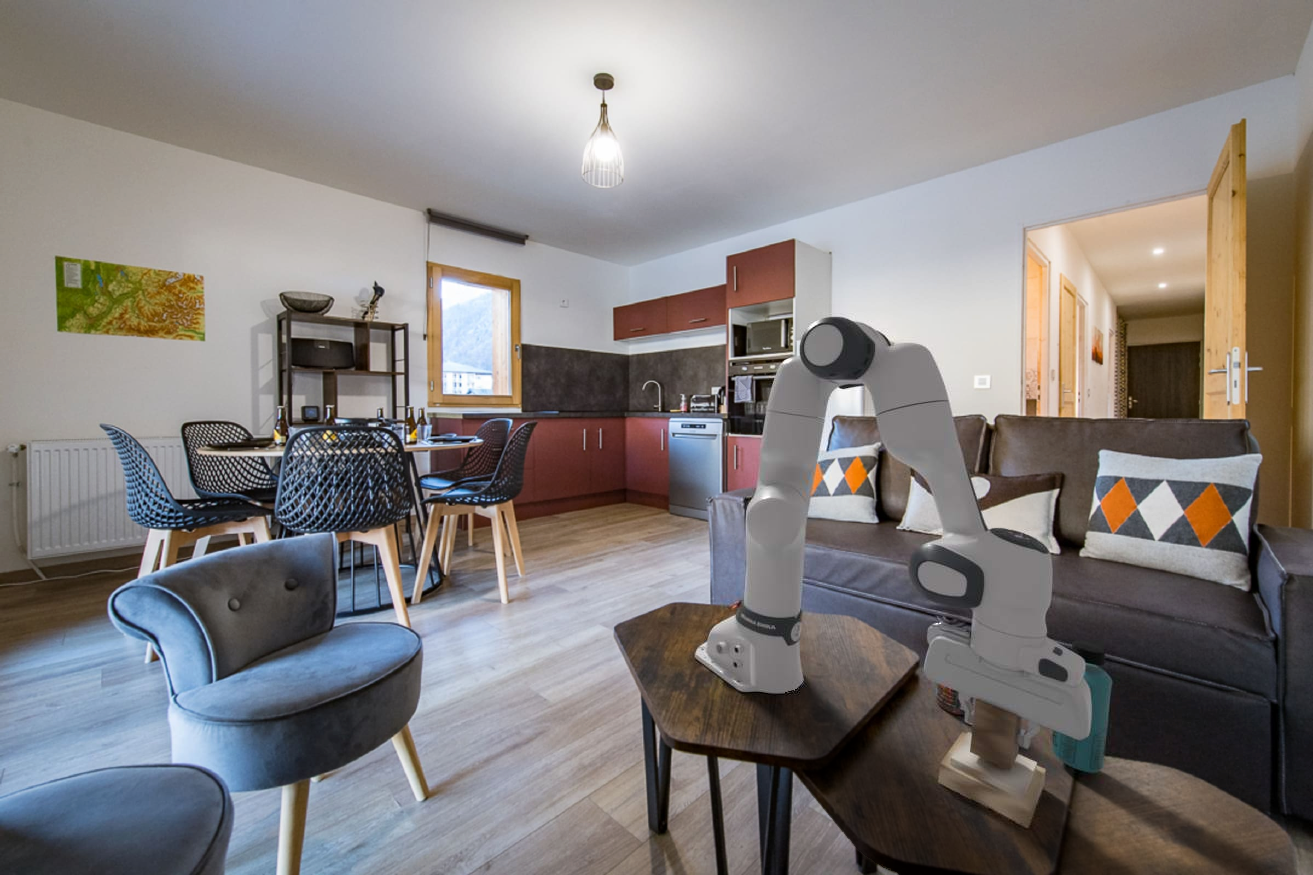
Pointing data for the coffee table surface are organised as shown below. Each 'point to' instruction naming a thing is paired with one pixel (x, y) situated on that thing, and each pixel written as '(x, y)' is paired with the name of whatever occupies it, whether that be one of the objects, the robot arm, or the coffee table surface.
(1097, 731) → the beverage bottle
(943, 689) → the supplement bottle
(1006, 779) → the pedestal
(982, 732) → the walnut block
